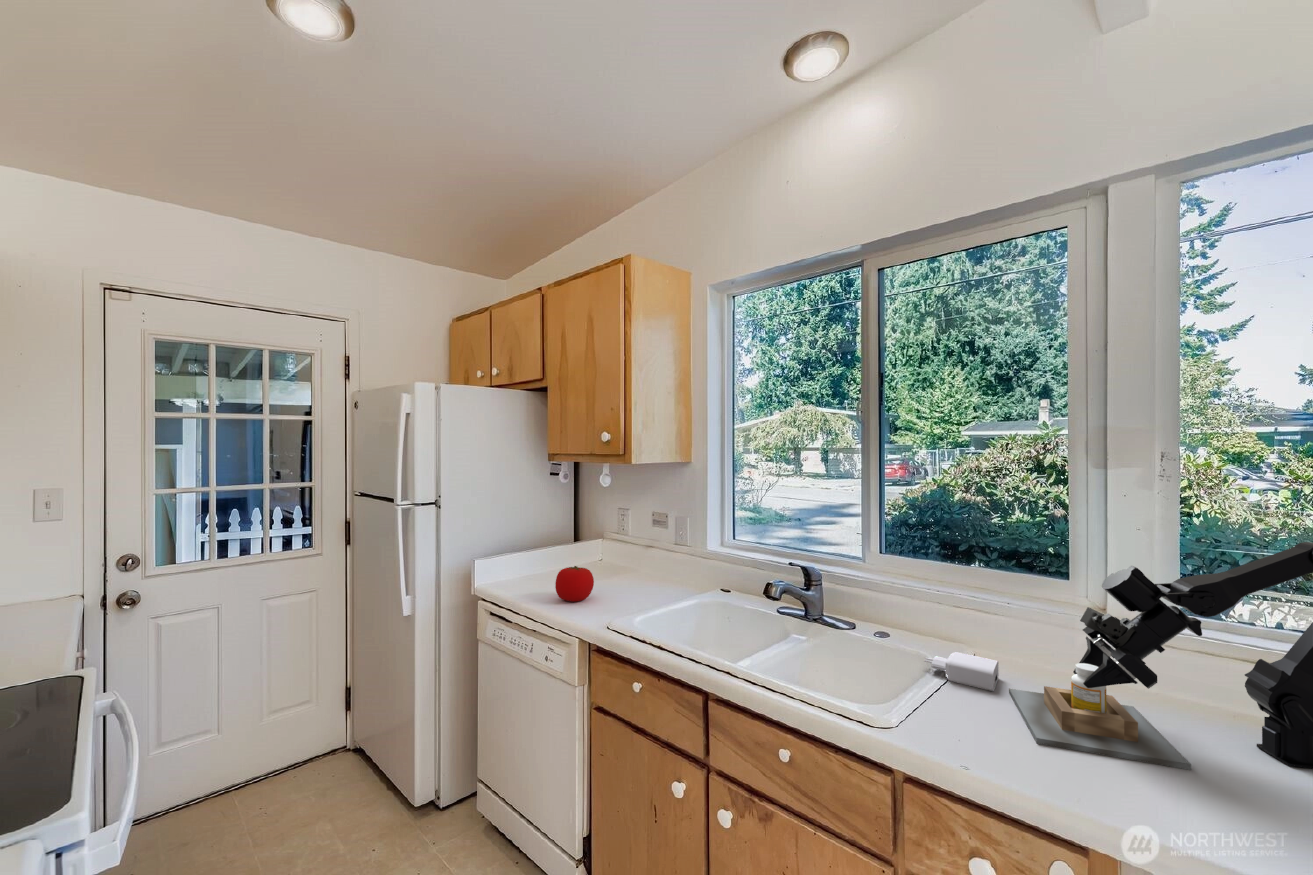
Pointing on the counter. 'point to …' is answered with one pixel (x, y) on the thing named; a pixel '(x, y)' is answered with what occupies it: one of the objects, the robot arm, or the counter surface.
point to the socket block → (1094, 728)
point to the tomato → (574, 583)
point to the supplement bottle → (1087, 691)
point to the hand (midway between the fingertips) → (1080, 679)
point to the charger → (968, 670)
